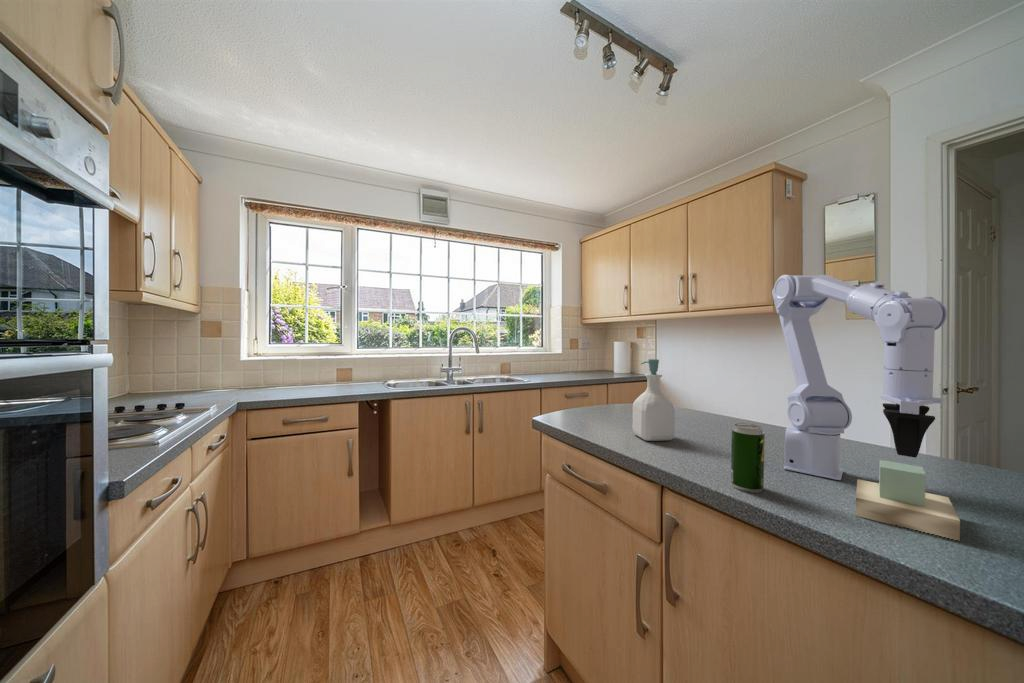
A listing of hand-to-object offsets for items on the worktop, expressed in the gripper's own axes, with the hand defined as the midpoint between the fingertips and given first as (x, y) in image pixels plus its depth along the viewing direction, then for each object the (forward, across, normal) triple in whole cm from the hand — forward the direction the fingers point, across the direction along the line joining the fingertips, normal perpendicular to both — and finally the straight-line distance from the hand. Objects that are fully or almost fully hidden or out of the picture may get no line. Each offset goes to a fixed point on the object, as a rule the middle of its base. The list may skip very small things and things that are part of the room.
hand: (905, 450), depth 62 cm
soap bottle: (+11, +14, +50) cm, 53 cm away
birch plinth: (+10, -2, 0) cm, 11 cm away
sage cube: (+7, -2, 0) cm, 8 cm away
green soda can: (+11, -7, +21) cm, 25 cm away
